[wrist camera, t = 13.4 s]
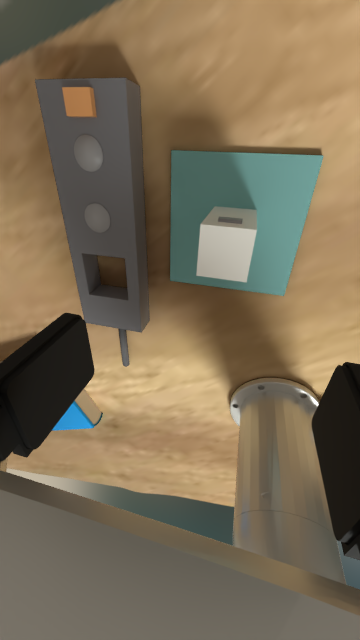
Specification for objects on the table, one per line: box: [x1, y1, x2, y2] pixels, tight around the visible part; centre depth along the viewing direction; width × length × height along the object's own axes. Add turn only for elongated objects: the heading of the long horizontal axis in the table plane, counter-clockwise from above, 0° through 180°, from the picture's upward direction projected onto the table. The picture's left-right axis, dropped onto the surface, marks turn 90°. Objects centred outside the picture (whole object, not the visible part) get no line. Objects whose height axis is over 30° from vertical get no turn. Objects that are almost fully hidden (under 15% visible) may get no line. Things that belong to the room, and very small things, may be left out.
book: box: [0, 361, 103, 430], centre depth 50 cm, size 17×4×25 cm
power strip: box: [35, 78, 150, 367], centre depth 30 cm, size 33×8×4 cm, turn 179°
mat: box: [170, 150, 323, 296], centre depth 26 cm, size 13×13×1 cm
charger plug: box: [196, 206, 257, 282], centre depth 23 cm, size 4×4×8 cm
